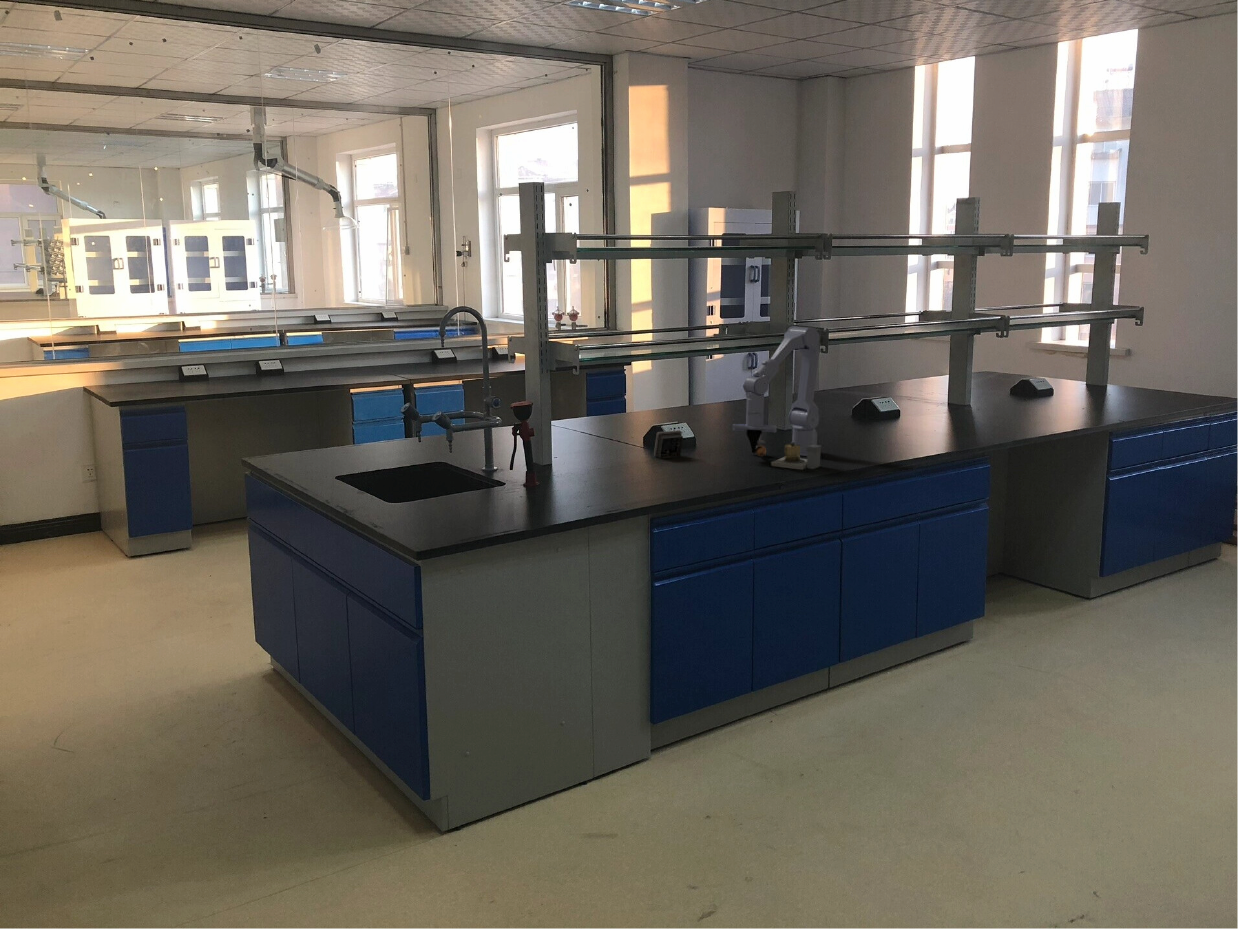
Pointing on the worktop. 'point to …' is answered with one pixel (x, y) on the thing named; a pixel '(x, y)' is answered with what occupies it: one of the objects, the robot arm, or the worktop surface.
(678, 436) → the electrical switch
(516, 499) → the worktop surface
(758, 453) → the lever
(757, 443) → the pivot post
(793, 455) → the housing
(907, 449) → the worktop surface
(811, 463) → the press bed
